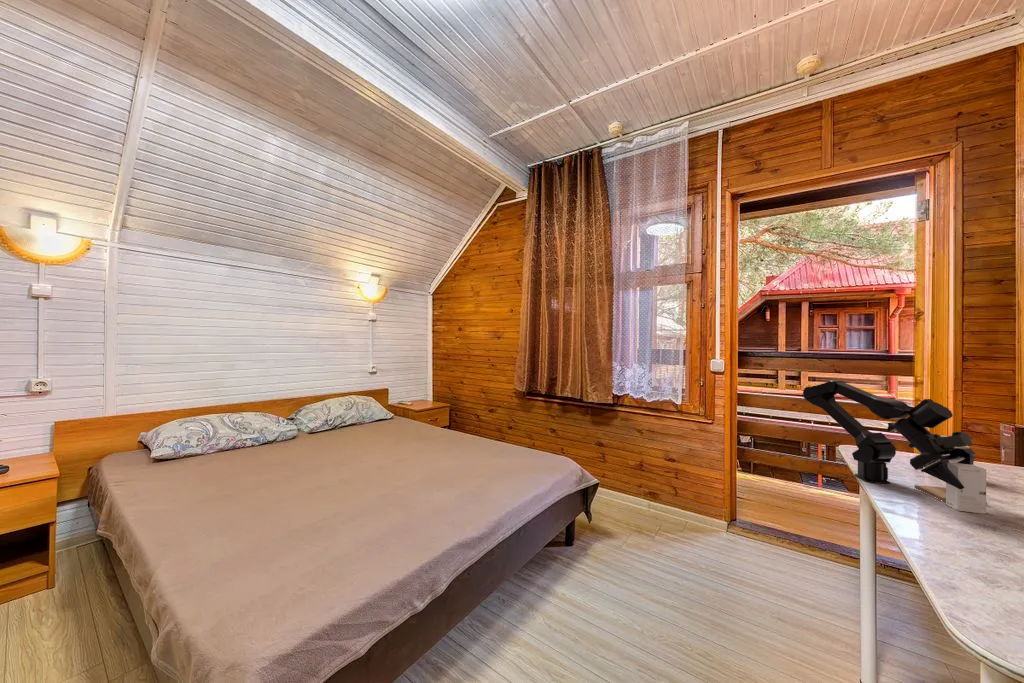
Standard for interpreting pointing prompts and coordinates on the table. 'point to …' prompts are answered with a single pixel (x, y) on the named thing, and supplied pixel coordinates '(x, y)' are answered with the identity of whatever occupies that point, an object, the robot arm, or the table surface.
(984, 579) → the table surface
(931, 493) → the walnut coaster
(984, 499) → the skincare box
